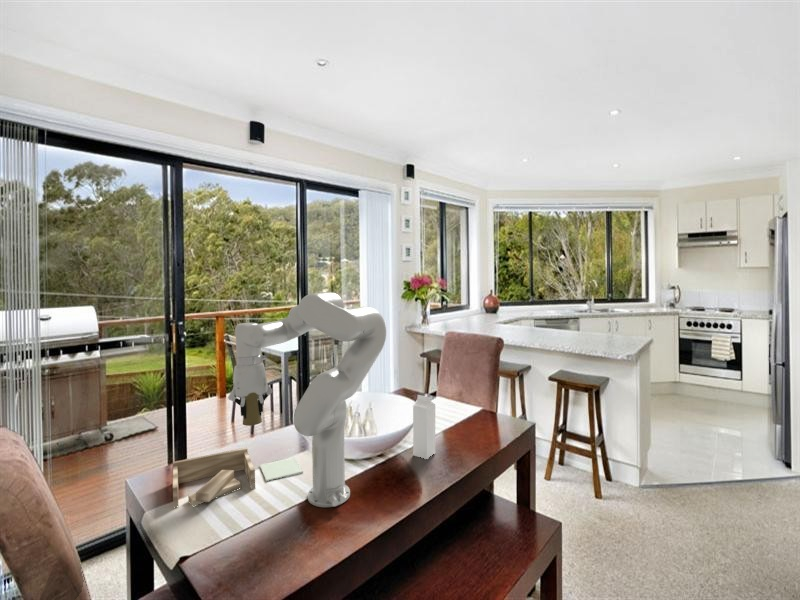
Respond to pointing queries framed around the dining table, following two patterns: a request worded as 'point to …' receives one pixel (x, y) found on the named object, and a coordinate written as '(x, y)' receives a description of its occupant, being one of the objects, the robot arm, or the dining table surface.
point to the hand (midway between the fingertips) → (252, 415)
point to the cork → (252, 410)
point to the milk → (423, 427)
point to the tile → (280, 469)
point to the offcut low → (228, 488)
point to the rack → (211, 468)
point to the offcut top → (214, 486)
